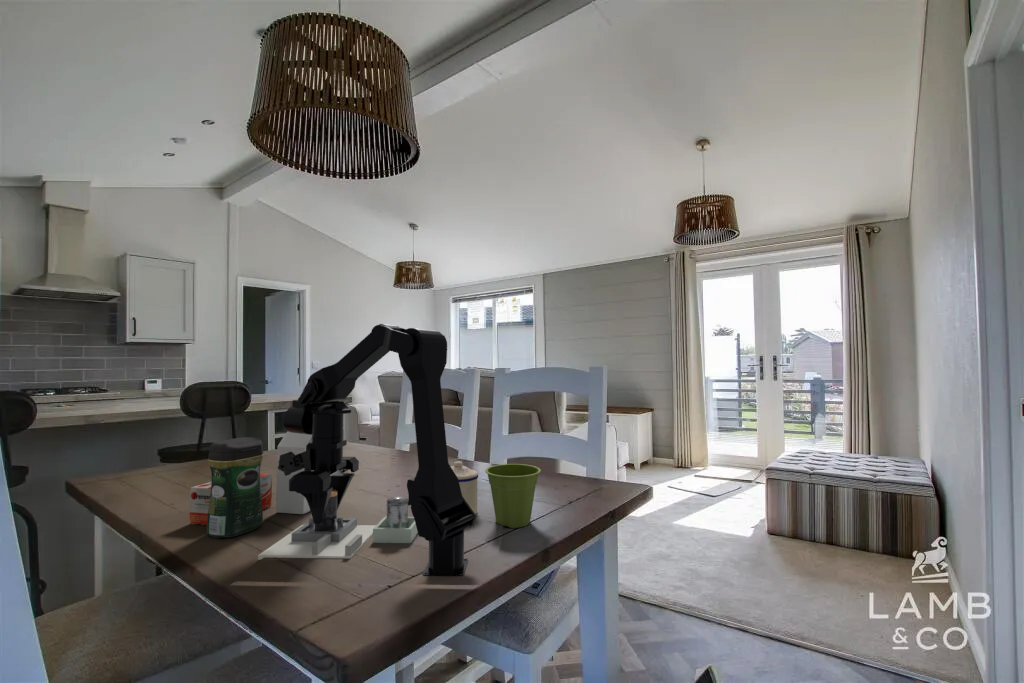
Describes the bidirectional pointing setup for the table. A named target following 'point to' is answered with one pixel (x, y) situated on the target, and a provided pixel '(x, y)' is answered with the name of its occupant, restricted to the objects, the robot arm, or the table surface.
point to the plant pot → (513, 492)
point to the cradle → (312, 529)
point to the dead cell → (397, 512)
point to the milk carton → (284, 497)
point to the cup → (394, 532)
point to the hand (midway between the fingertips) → (326, 517)
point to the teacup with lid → (467, 483)
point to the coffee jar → (235, 487)
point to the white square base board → (321, 542)
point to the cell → (329, 514)
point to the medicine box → (202, 499)
